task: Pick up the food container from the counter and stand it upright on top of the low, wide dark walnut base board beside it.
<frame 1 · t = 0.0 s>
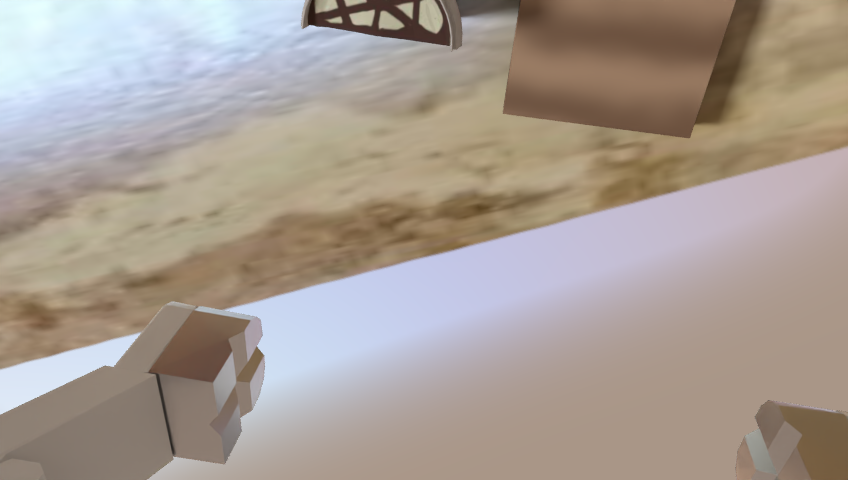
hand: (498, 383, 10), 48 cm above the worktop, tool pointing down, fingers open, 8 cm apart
walnut base: (614, 22, 52), on the worktop
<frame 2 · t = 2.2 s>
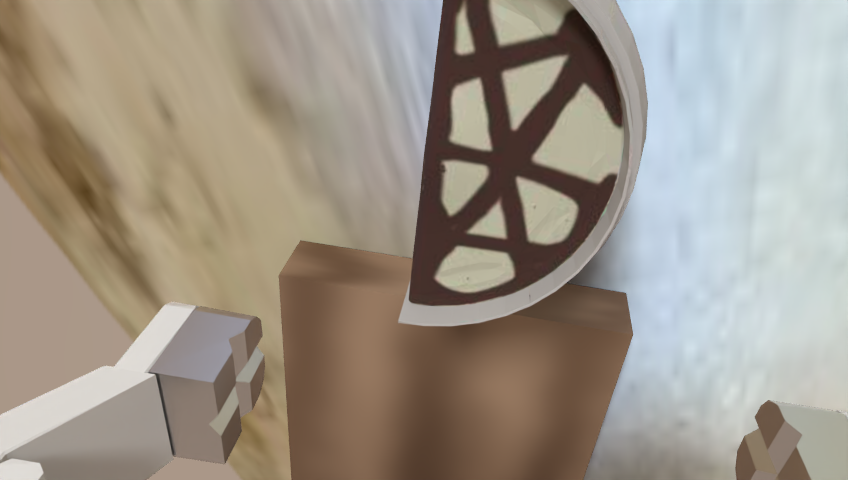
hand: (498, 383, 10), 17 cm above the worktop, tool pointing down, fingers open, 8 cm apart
food container: (536, 67, 25), on the worktop
walnut base: (443, 382, 35), on the worktop
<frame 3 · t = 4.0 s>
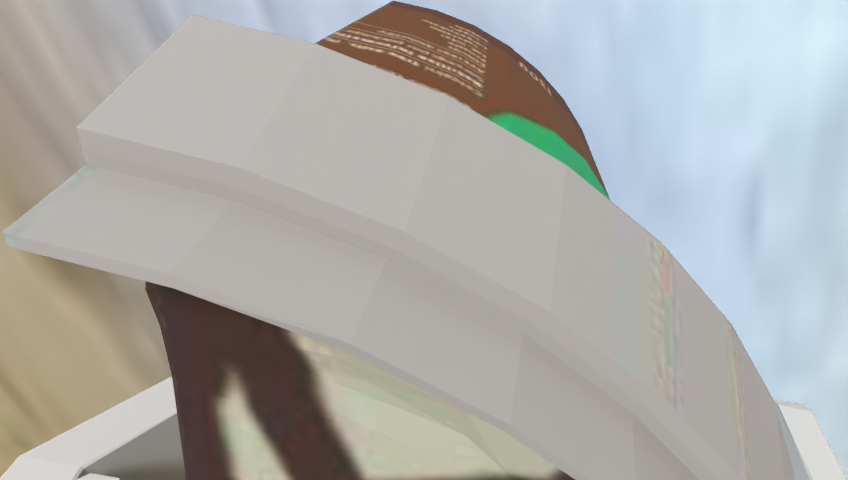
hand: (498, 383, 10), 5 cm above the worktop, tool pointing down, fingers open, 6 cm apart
food container: (509, 231, 14), on the worktop, touching gripper
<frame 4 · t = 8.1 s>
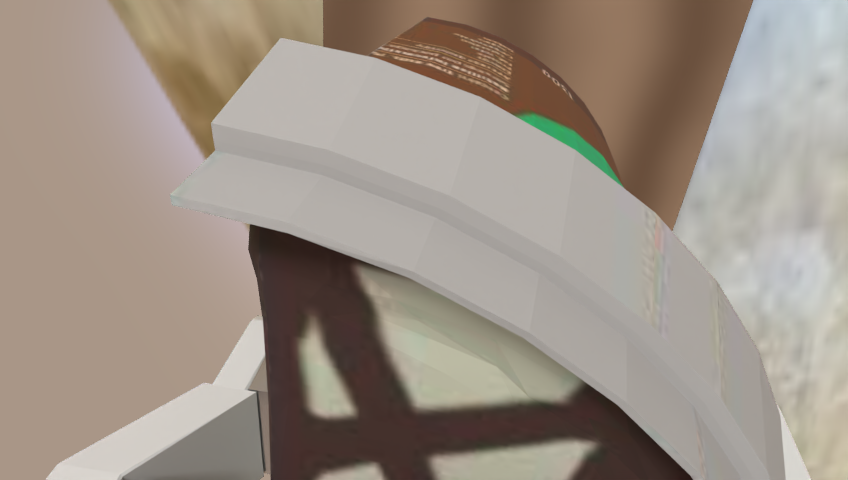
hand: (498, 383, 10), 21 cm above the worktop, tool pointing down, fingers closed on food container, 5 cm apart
food container: (536, 226, 15), point 15 cm above the worktop, touching gripper
walnut base: (518, 47, 28), on the worktop
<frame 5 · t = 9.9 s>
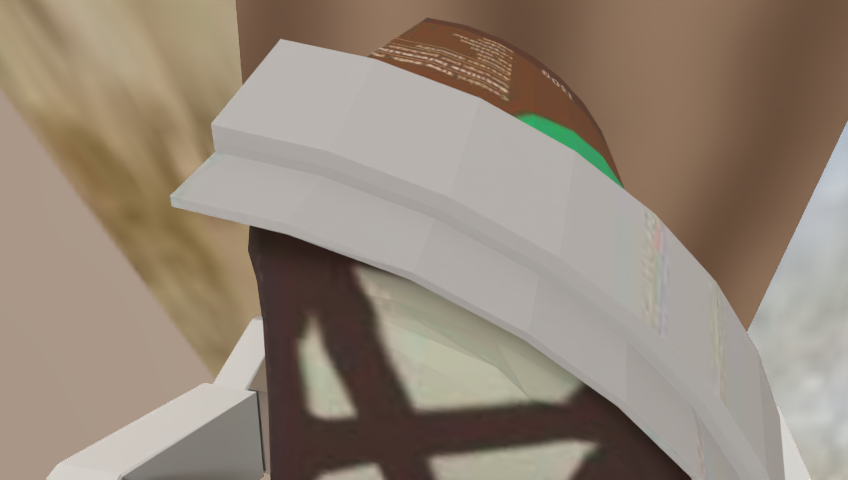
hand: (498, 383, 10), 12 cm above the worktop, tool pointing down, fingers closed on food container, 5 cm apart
food container: (536, 226, 15), point 6 cm above the worktop, touching gripper
walnut base: (519, 118, 20), on the worktop
when the fingers open (10 cm above the worktop, at t = 11.7 s): food container drops 1 cm, resting on walnut base.
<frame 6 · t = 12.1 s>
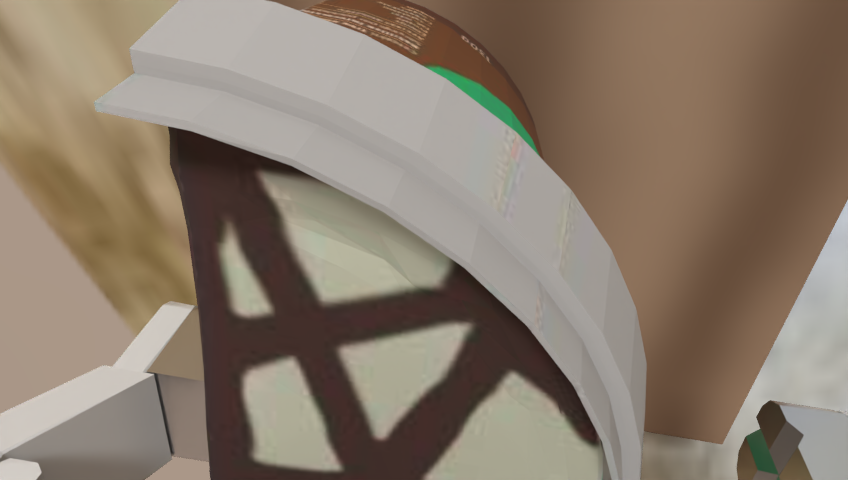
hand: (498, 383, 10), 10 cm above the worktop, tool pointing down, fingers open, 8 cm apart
food container: (467, 186, 17), point 3 cm above the worktop, touching gripper, walnut base
walnut base: (513, 141, 19), on the worktop
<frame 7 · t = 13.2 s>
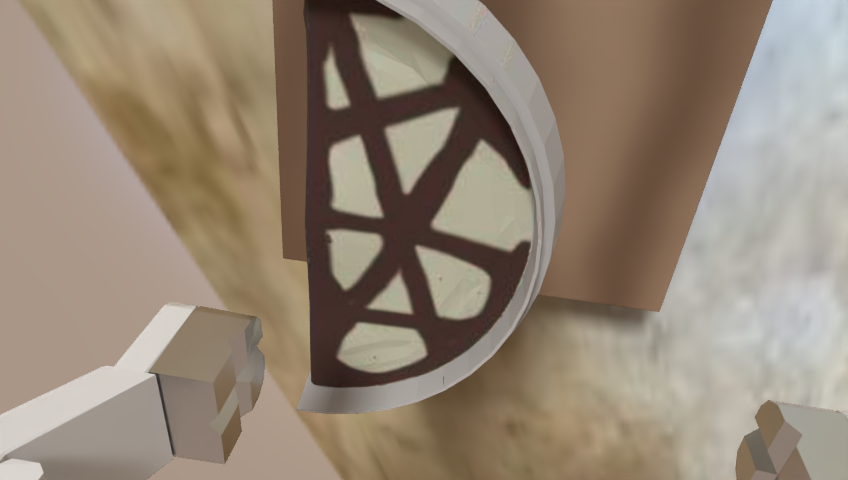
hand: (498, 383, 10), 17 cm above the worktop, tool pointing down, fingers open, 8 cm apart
food container: (464, 103, 22), point 3 cm above the worktop, touching walnut base
walnut base: (497, 77, 25), on the worktop
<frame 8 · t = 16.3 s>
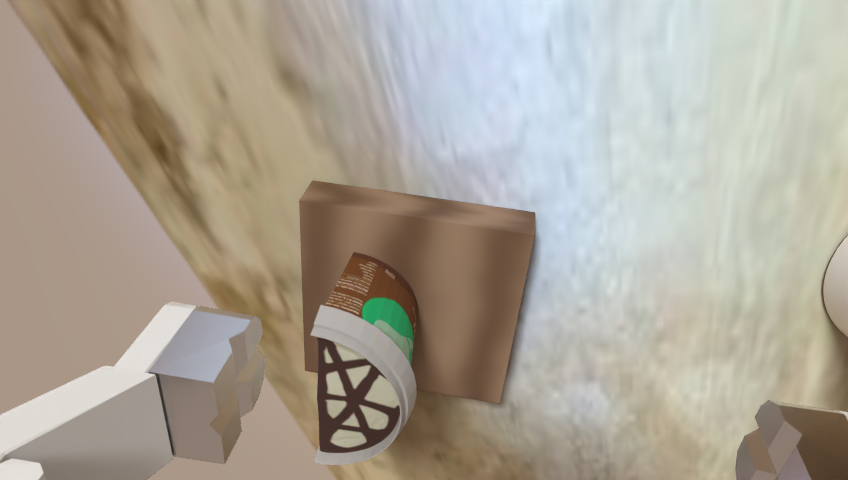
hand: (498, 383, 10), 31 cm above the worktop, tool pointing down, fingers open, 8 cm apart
food container: (393, 308, 46), point 3 cm above the worktop, touching walnut base
walnut base: (414, 286, 49), on the worktop
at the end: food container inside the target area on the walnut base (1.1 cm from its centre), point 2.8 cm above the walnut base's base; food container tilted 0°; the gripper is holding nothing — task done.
